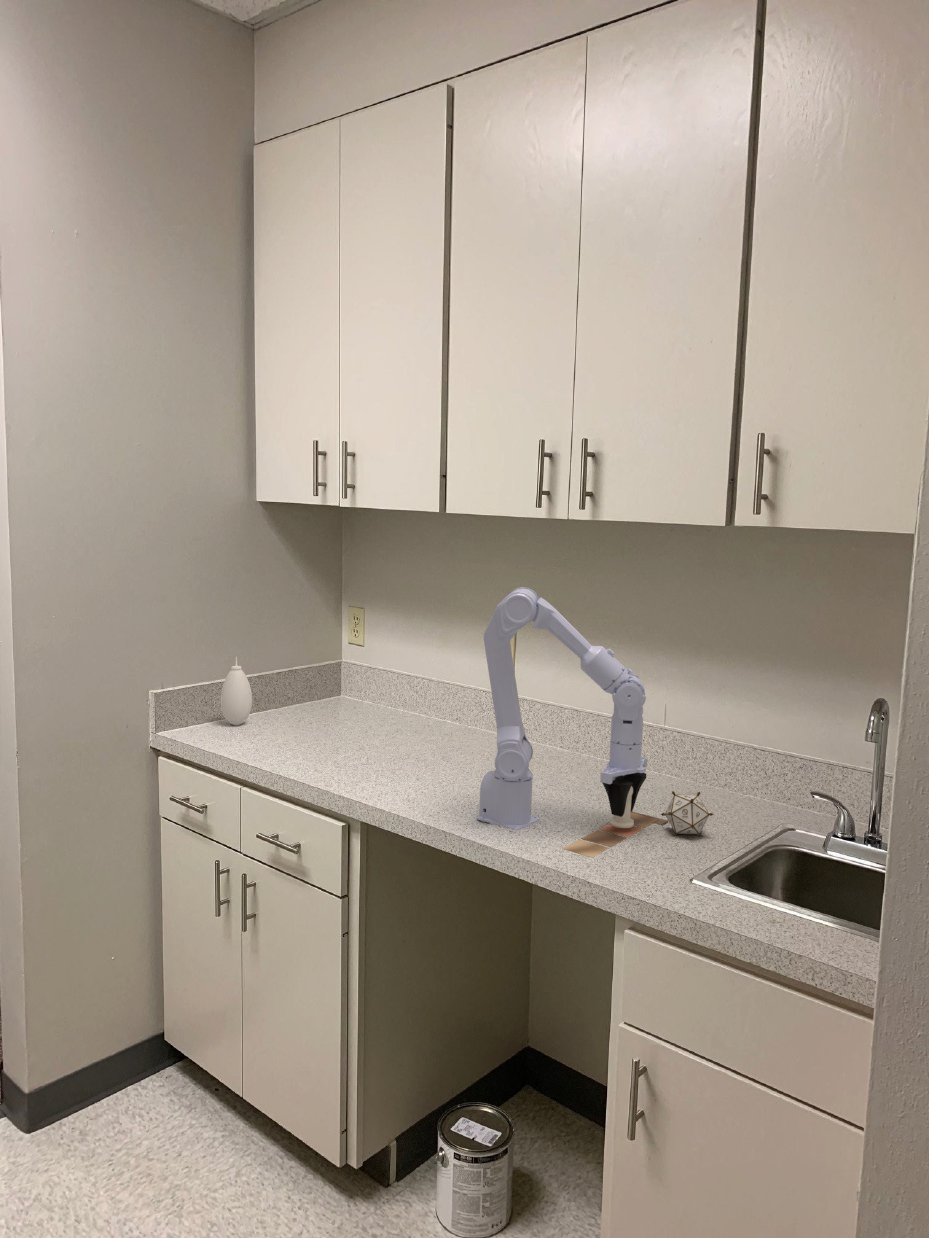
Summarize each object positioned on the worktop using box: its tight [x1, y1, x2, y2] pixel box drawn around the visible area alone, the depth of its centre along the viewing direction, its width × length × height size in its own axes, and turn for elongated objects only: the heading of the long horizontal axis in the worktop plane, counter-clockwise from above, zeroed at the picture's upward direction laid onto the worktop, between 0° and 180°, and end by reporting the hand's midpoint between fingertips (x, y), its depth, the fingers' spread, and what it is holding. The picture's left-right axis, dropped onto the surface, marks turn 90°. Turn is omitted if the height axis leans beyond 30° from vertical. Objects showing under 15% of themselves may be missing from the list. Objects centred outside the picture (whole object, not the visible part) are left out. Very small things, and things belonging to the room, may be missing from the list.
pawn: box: [609, 786, 635, 828], centre depth 174 cm, size 4×4×8 cm
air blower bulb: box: [220, 656, 253, 726], centre depth 243 cm, size 8×8×18 cm
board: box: [562, 811, 669, 859], centre depth 172 cm, size 9×28×1 cm, turn 143°
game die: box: [660, 790, 714, 837], centre depth 173 cm, size 9×8×10 cm
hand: (622, 812), depth 175 cm, fingers closed on pawn, 3 cm apart
